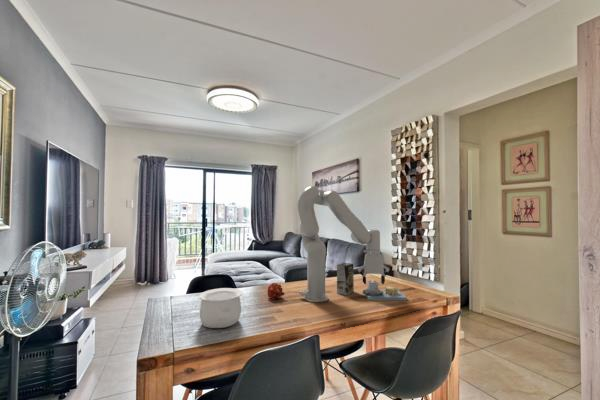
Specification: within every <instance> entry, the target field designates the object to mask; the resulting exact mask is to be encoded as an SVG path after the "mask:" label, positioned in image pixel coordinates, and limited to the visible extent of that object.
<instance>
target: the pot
mask: <svg viewBox="0 0 600 400" xmlns="http://www.w3.org/2000/svg"><path fill="white" fill-rule="evenodd" d="M242 294H243V292H242V290H240V289H238V288H232V287H219V288H213V289H207V290H205V291H203V292H201V293H200V294H199V295H198V298H199V299H200V300H201V302H200V307H199V318H200V319H199V320H200V322H201V325H202V326H204V327H206V328H210V329H223V328H228V327H231V326H233V325H235V324H236V323H238V322H239V320H240V317H241V313H242V304H241V299H240V297H241V296H242Z"/></svg>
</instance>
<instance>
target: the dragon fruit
mask: <svg viewBox="0 0 600 400" xmlns="http://www.w3.org/2000/svg"><path fill="white" fill-rule="evenodd" d="M284 295H285V292H284V291H283V288H282V285H281V284H278V283H277V282H272V283H271V284H270V285H269V286H268V287H267V296H268V298H271V299H272V300H273V301H276V299H280V298H281V297H282V296H284Z"/></svg>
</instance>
